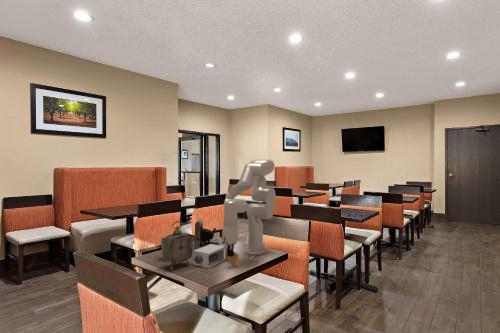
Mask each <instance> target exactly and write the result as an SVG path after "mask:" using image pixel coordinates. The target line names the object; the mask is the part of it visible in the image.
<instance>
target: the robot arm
mask: <svg viewBox="0 0 500 333" xmlns="http://www.w3.org/2000/svg"><path fill="white" fill-rule="evenodd" d="M274 169H275V163H274V161H273V160H272V159H253V160H251V161H249V162H247V163H246V164H244V167H243V169H242V172H241V174H240V177H239V181H238V182H237V183H236V184H235V185H234V186H232V187H231V188H230V189H229V190H228V192H227V194H226V196H225V199H224V202H223V227H222V232H221V244H222V245H223V246H224V247H226V248H227V256H229V257H232V256H233V253H234V252H235V250H234V249H235V245H236V244H237V242H238V240H239V232H238V231H239V230H238V229H239V228H238V214H242V213H243V214H244V213H245V212H246V216H247V231H248V232H247V242H248V243H247V248H246V249H245V253H246V254H248V255H254V256H255V255H263V254H265V253H266V249H265V248H264V247H265V245H266V244H265V243H264V225H263V224H264V223H263V222H262V220H263V219H264V220H270V219H272V217H273V215H274V211H275V205H276V204H275V203H276V198H277V196H276V190H275V189H274V188H273V187H268V186H267V178H266V177H265V176H268V175H269V174H271V173H273V171H274ZM250 189H251V195H250V196H251V199H252V201H254V202H251V203H248V202H247V200H244V199H237V198H236V197H237V196H239V195H240V194H242V193H244V192H248V191H249V190H250ZM263 202H264V203H263Z"/></svg>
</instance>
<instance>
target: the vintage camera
mask: <svg viewBox="0 0 500 333" xmlns="http://www.w3.org/2000/svg"><path fill="white" fill-rule="evenodd" d="M216 230H217V228H216V227H213V230H211V229H209V228H204V221H203V220H202V219H199V220H197V221H196V222H195V224H194V239H193V240H194V242H193V243H194V244H193V251H194V250H196V249H199V248H202V247H204V246H207V245H210V244H213V245H219V246H220V243H219V242H213V241H211V240H213V239H214V237H215V233H216Z"/></svg>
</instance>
